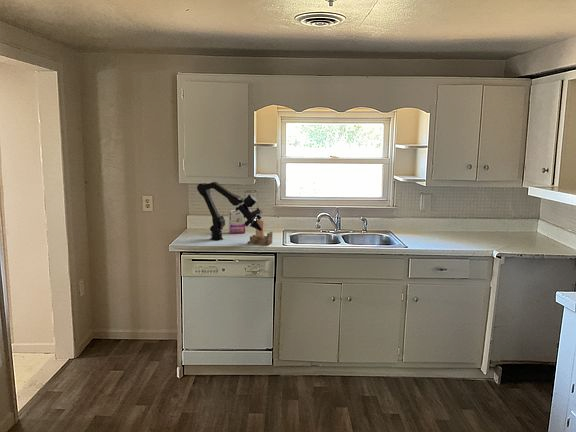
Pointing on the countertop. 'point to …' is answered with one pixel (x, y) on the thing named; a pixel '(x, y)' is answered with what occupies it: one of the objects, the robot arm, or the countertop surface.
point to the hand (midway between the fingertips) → (262, 230)
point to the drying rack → (261, 239)
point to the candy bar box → (236, 222)
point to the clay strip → (262, 225)
